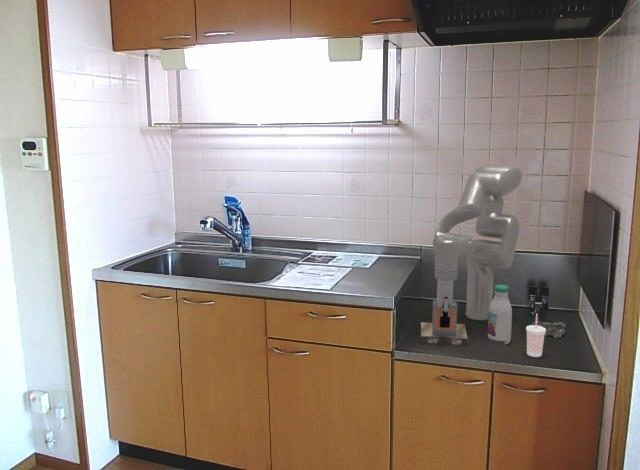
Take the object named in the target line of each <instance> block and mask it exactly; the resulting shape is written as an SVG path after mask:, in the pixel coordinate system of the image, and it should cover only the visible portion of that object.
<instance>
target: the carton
mask: <svg viewBox="0 0 640 470" xmlns="http://www.w3.org/2000/svg"><path fill="white" fill-rule="evenodd" d="M442 307H444V306H443V305H442ZM443 311H444V309H443ZM440 316H441V308H438V307H437V299H436V300H434V299H433V300H432V319H431V320H432V321H431V323H432V335H440V336H456V327H457V324H458V323H457V322H458V303H457V301H456V300H452V308H451V309H449V316H450V327H449V328H441V327H440Z"/></svg>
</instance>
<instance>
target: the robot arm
mask: <svg viewBox="0 0 640 470" xmlns="http://www.w3.org/2000/svg"><path fill="white" fill-rule="evenodd" d="M522 175H523V174H522V171H521V169H520V168H519V167H518V166H514V165H497V164H493V165H492V164H490V165H489V164H486V165H480V166H478V167H477V168H476V169H475V171H474V172H472V173H471V174H470V175H469V176H468V179H467V182H466V184H465V187H464V189H463V191H462V195H461V198H460V201H459V203H458V205H457V206H455V208H453V209H452V210H450V211H449V212H447V214H446V215H445V216H444V217H442V219H441V220H440V221H439V222H438V225H437V227H436V230H435V233H434V236H433V240H432V247H433V249H434V251H435V256H434V278H435V279H436V280H437V284H436V300H437V307H438V308H441V316H440V327H441V328H449V327H450V316H449V309H451V308H452V301H453V300H454V299H453V298H454V281H456V280H458V268H459V262H458V261H459V258H465V257H466V265H467V280H466V281H467V282H466V283H467V284H466V304H465V305H466V307H465V308H466V310H465V312H464V313H463V314H464V315H465V317H466V318H468V319H471V320H474V321H488V319H489V308H490V304H491V302H492V300H493V292H494V291H493V289H494V274H493V271H492V269H491V268H492V267H493V268H500V269H508V268H510V267H511V266H512V263H513V261H514V258H515V252H516V249H517V244H518V238H519V233H520V221H519V219H518V217H517V216H516V215H514V214H510V213H509V214H508V213H503V209H504V205H505V204H504V203H505V202H504V198H503V196H504V197H505V196H507V195H509V194H510V193H512V192H514V190H516V189H518V187H519V186H520V184H521V183H522V180H523V176H522ZM474 219H476V222H475V233H476V235H478V236H481V237H484V238H490V239H491V238H492V239H498V240H501V241H495V240H494V241H493V240H488V239H479V238H478V239H474V238H473V237H471V236H470V235H466V234H460V233H452V232H451V230H452V229H453V228H454V227H456V226H458V225H460V224H461V223H464V222H467V221H471V220H474ZM490 267H491V268H490ZM442 305H443V306H444V307H442ZM443 309H444V311H443Z"/></svg>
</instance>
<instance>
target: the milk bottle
mask: <svg viewBox="0 0 640 470" xmlns="http://www.w3.org/2000/svg"><path fill="white" fill-rule="evenodd" d="M509 290H510V287H509V285H505V284H496V285H495V286H494V291H493V292H494V296H493V297H492V302H491V304H490V308H489V319H488V320H487V323H488V324H487V338H488V339H490V340H492V341H497V342H504V345H508V344H510V342H511V340H512V339H511V337H512V323H513V309H512V304H511V302H510V299H509V296H508V295H509Z"/></svg>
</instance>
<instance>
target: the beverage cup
mask: <svg viewBox="0 0 640 470" xmlns="http://www.w3.org/2000/svg"><path fill="white" fill-rule="evenodd" d="M538 315H539V314H538V313H536V314H535V321H536V323H535V325H533V324H529V325H527V326H526V328H525V331H526V355H528V356H530V357H533V358H539V357H542V356H543V347H544V342H545V336H546V335H545V332H546V329H545V328H544V327H542V326H537V321H538Z"/></svg>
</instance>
